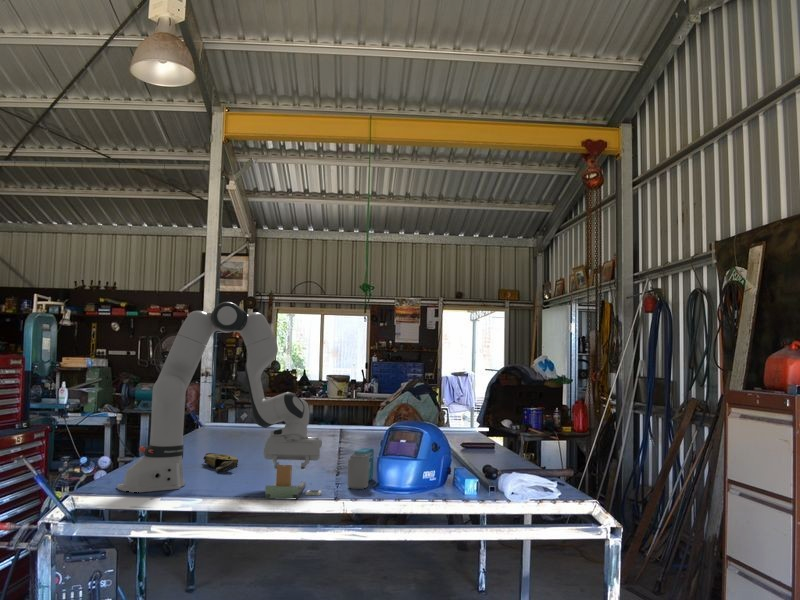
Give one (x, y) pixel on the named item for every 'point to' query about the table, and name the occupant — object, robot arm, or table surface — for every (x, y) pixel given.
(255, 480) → the table surface
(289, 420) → the robot arm
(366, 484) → the can
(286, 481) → the orange brown box
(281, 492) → the switch channel
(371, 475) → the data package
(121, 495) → the table surface
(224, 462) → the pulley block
